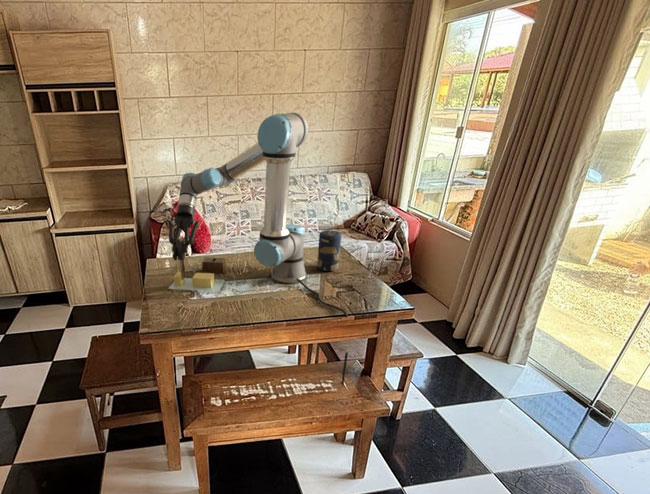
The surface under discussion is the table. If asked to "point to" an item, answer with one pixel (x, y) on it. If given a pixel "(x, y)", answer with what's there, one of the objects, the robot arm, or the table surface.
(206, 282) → the butter block
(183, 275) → the knife
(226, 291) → the table surface
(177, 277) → the butter pat
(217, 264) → the knife block
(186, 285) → the butter dish
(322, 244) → the canister
